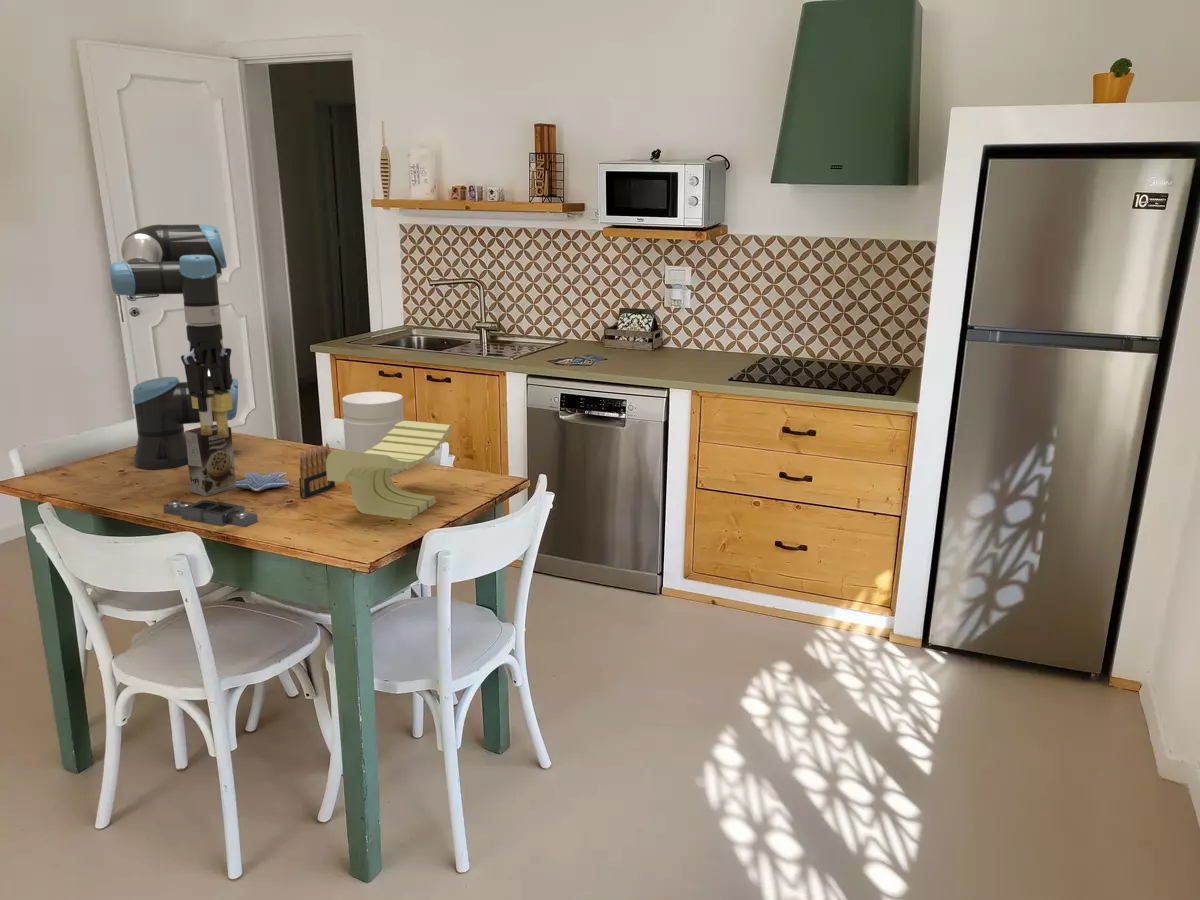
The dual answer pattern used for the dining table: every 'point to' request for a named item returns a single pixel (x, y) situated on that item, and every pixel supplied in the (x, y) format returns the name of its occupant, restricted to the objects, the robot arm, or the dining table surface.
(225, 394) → the tan piece
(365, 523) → the dining table surface
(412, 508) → the slatted curved stool
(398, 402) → the canister
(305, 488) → the ammunition clip
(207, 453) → the coffee box
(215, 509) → the chain joint
